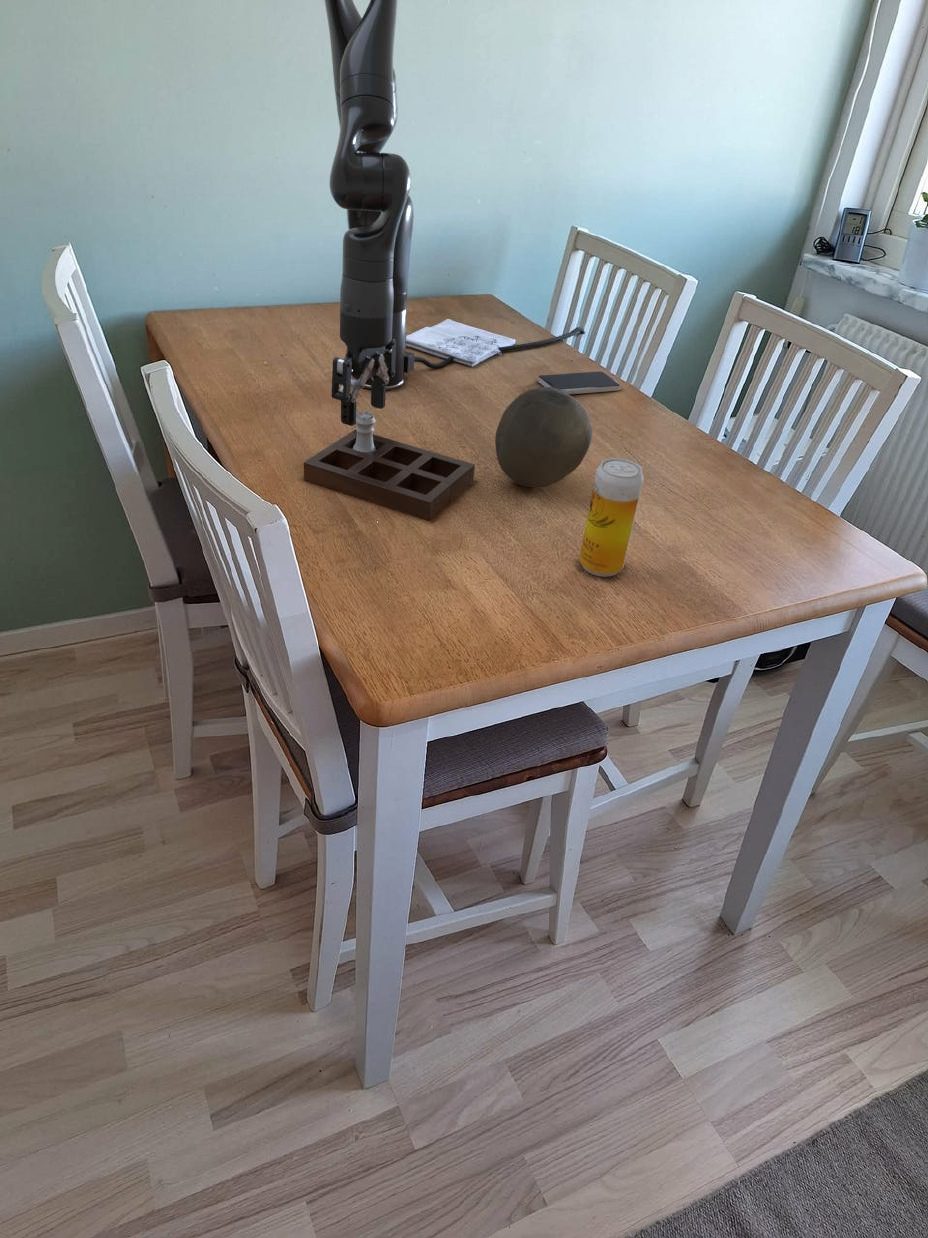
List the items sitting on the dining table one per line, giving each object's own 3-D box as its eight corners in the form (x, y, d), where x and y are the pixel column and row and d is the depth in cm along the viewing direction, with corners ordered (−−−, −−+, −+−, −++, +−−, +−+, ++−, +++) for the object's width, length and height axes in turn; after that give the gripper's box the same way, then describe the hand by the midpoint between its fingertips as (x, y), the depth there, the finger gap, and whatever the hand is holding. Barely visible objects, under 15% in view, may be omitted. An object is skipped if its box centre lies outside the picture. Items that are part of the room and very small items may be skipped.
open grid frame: (355, 445, 146) (355, 428, 144) (473, 481, 139) (475, 464, 137) (303, 480, 135) (303, 461, 133) (428, 520, 128) (430, 502, 126)
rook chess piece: (373, 470, 139) (375, 422, 135) (346, 465, 140) (346, 417, 135) (381, 458, 143) (383, 411, 138) (354, 453, 143) (355, 406, 139)
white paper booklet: (395, 345, 187) (396, 334, 185) (448, 323, 201) (448, 314, 200) (473, 369, 179) (474, 358, 178) (521, 345, 194) (522, 335, 192)
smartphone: (622, 385, 176) (556, 390, 170) (621, 391, 177) (555, 396, 171) (601, 370, 182) (537, 375, 176) (600, 376, 183) (536, 380, 177)
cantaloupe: (519, 510, 133) (533, 415, 124) (475, 469, 143) (485, 378, 134) (597, 496, 139) (615, 405, 130) (550, 458, 149) (564, 370, 140)
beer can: (574, 554, 124) (593, 455, 115) (617, 555, 125) (639, 457, 116) (582, 578, 119) (603, 476, 110) (627, 579, 120) (650, 479, 111)
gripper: (362, 325, 121) (359, 436, 130) (413, 302, 132) (407, 407, 141) (316, 313, 123) (316, 423, 132) (370, 292, 134) (366, 395, 143)
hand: (363, 415), depth 137 cm, fingers open, 8 cm apart
